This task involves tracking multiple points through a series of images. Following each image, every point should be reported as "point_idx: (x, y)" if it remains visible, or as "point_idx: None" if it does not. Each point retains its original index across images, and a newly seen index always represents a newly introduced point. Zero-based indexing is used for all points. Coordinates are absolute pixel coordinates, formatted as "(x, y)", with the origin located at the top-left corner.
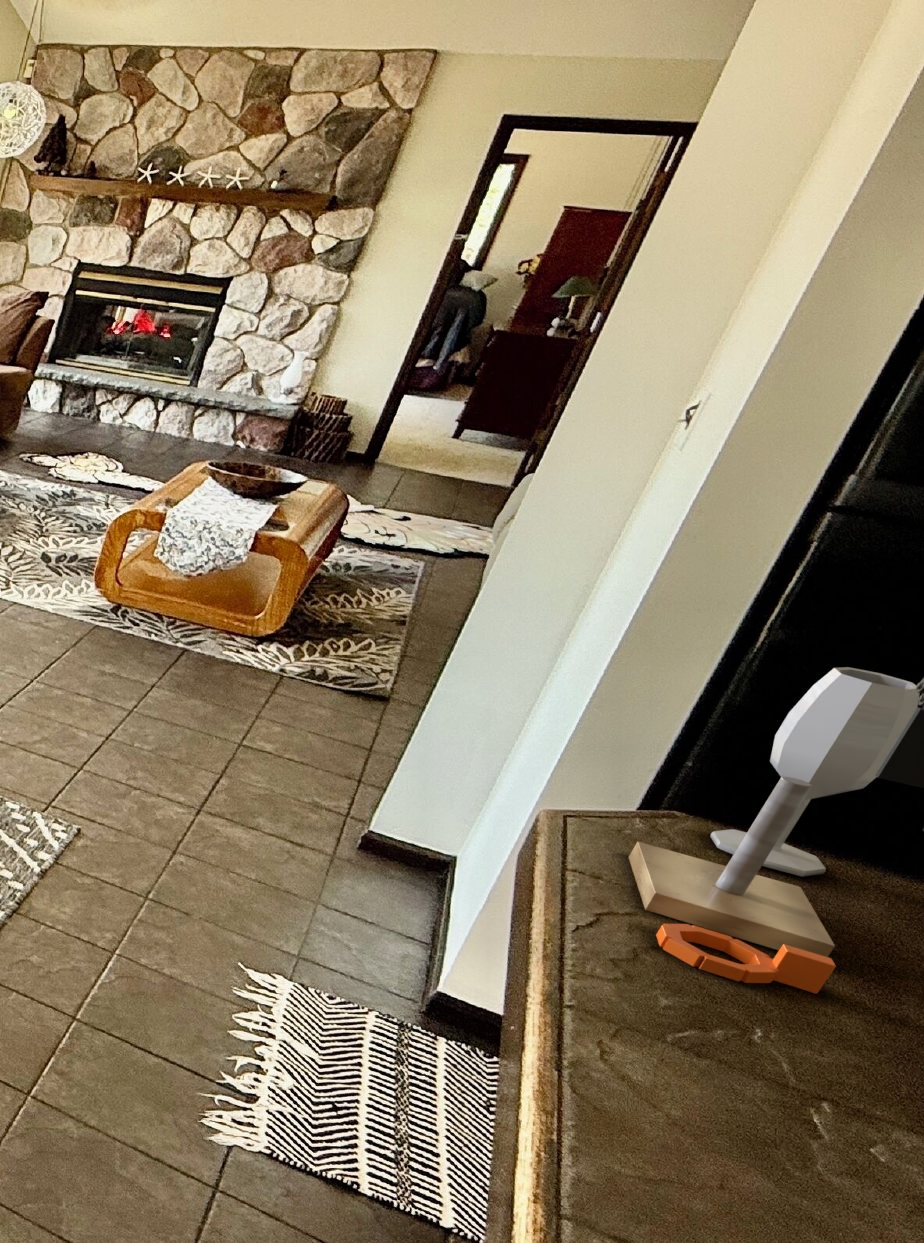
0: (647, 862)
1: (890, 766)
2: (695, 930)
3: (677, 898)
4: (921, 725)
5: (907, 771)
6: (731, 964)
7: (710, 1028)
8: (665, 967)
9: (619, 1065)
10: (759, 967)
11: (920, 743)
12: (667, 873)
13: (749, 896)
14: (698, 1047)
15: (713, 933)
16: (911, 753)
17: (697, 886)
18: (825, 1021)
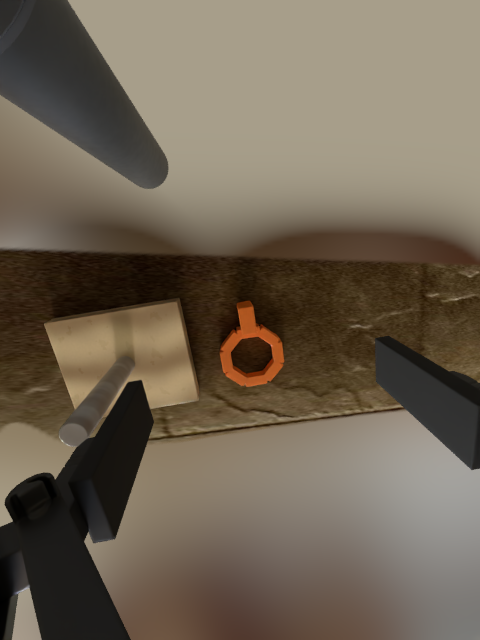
0: None
1: (148, 432)
2: (233, 370)
3: (194, 388)
4: (122, 494)
5: (143, 414)
6: (279, 349)
7: None
8: (299, 372)
9: (470, 376)
10: (265, 336)
11: (130, 454)
12: None
13: (125, 352)
14: None
15: (227, 361)
16: (136, 441)
17: (146, 381)
18: (296, 295)
